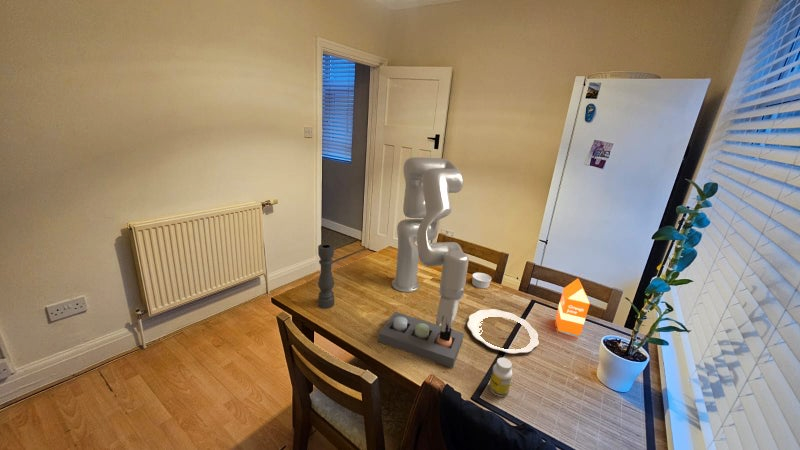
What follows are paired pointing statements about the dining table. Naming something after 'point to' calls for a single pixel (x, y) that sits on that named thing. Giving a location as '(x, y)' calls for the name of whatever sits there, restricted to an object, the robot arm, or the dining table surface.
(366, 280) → the dining table surface
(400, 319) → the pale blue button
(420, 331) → the sage button
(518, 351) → the plate
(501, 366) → the supplement bottle
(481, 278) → the ramekin
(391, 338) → the button panel
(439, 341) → the terracotta button
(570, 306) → the orange juice
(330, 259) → the candle holder
